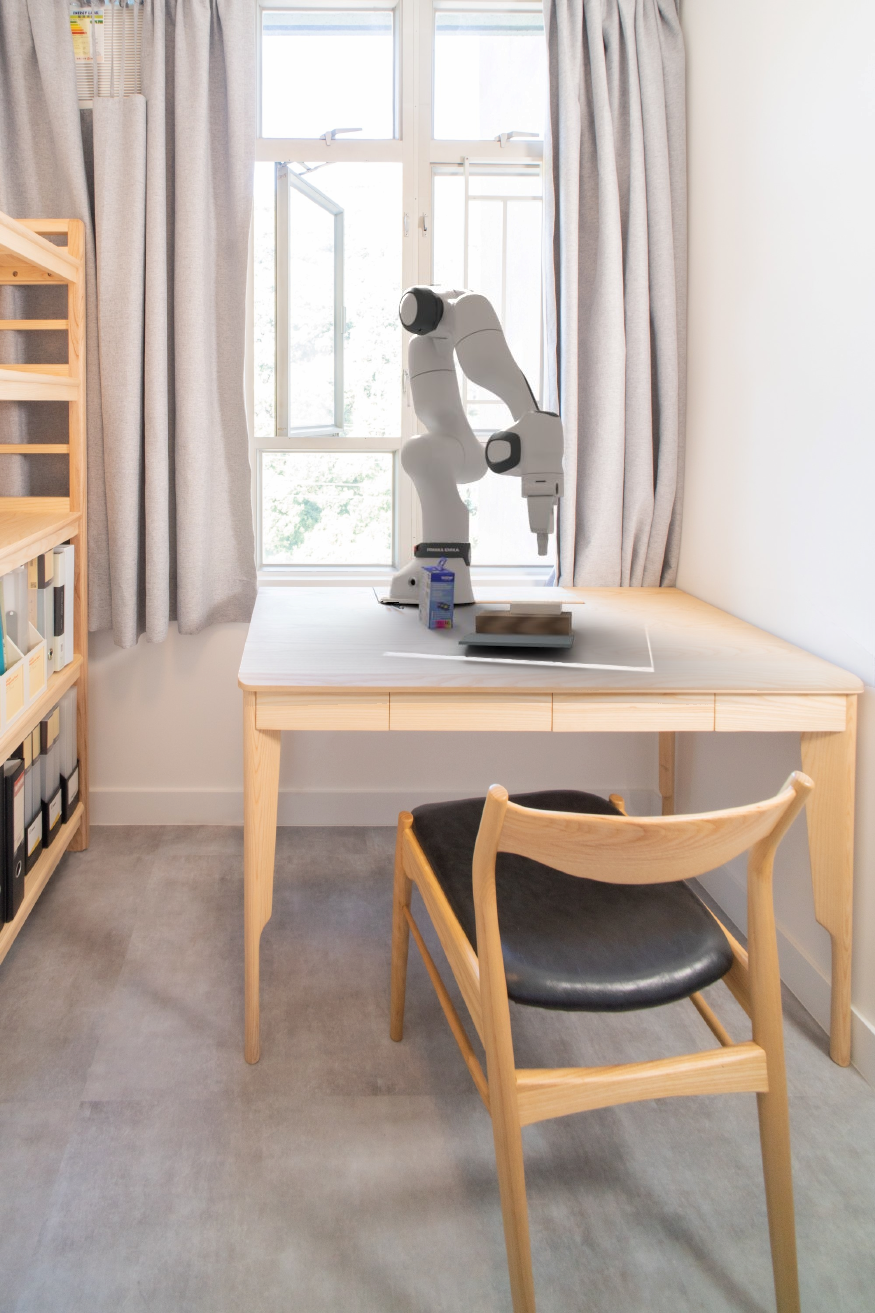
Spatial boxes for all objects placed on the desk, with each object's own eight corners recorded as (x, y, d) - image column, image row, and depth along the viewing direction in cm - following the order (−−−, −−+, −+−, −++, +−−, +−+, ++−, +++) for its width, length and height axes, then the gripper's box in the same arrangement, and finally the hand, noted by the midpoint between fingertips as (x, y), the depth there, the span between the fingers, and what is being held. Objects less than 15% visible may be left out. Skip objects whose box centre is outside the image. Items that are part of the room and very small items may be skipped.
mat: (458, 644, 170) (458, 641, 170) (470, 635, 184) (470, 632, 184) (570, 647, 166) (570, 644, 166) (573, 638, 181) (574, 635, 181)
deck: (475, 636, 184) (475, 615, 184) (484, 628, 198) (484, 609, 197) (568, 638, 181) (569, 617, 181) (571, 631, 195) (571, 611, 194)
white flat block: (509, 613, 189) (510, 603, 189) (513, 610, 196) (513, 601, 196) (560, 614, 187) (560, 604, 187) (562, 611, 194) (562, 601, 194)
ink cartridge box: (454, 631, 194) (456, 561, 190) (428, 632, 192) (429, 561, 189) (443, 622, 203) (444, 554, 200) (417, 622, 202) (418, 554, 198)
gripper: (531, 492, 208) (531, 555, 210) (523, 486, 188) (523, 556, 190) (560, 491, 207) (560, 555, 209) (555, 485, 187) (555, 555, 189)
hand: (542, 555), depth 199 cm, fingers closed
